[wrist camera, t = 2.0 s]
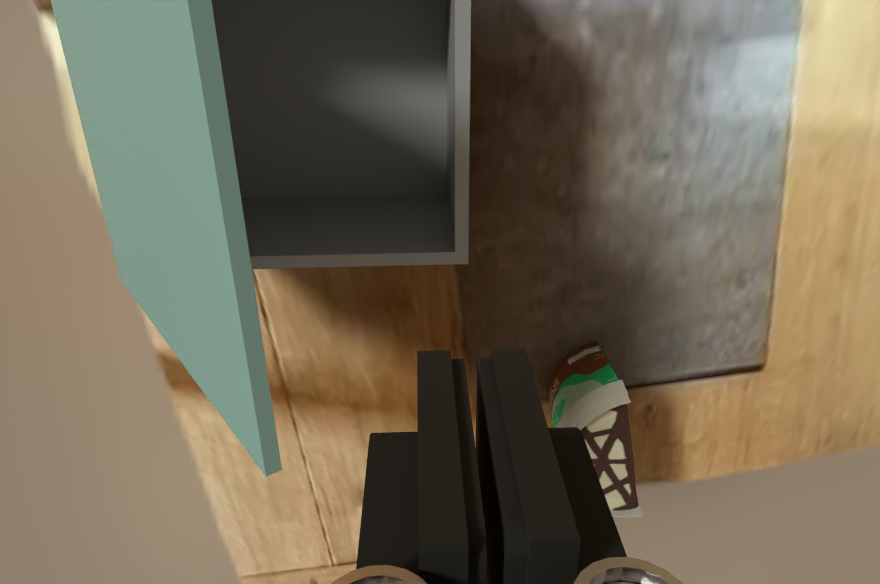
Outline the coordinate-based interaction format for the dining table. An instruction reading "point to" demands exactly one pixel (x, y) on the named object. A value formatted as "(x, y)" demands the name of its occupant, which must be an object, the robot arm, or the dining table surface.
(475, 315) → the dining table surface
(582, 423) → the food container
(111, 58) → the lid
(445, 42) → the carton
